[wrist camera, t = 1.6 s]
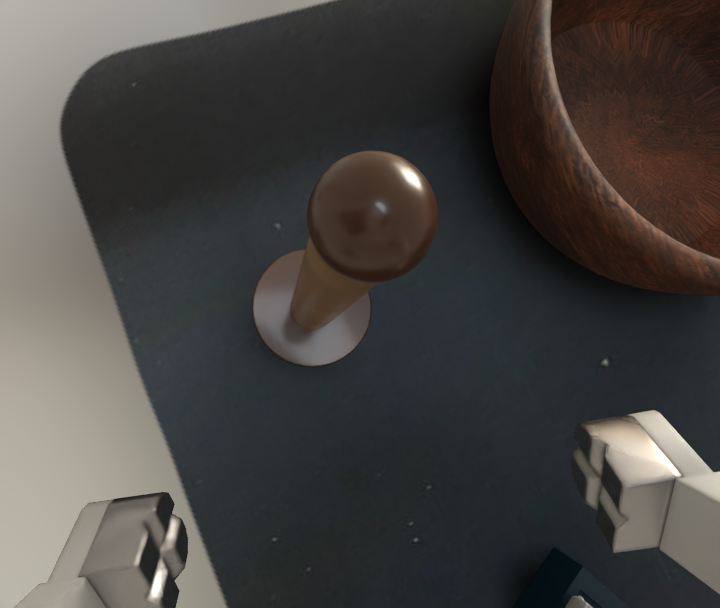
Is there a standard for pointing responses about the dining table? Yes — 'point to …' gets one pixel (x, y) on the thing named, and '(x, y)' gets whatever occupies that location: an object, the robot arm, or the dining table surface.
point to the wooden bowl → (615, 134)
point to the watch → (566, 587)
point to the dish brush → (345, 257)
